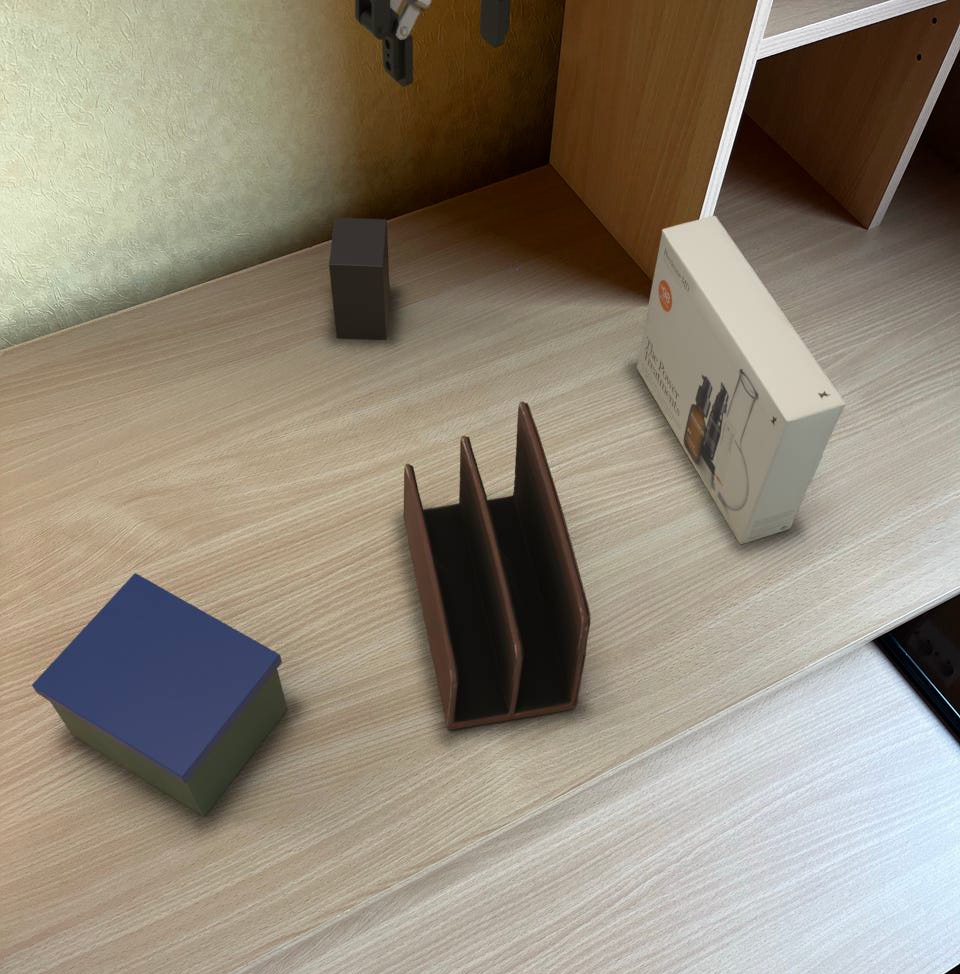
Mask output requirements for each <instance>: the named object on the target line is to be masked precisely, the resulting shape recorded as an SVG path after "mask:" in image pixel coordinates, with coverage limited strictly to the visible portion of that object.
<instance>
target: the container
mask: <svg viewBox="0 0 960 974" xmlns="http://www.w3.org/2000/svg"><path fill="white" fill-rule="evenodd" d="M282 664H283V661H282V658H281V653H278V652H276V651H274V650H273V649H271V648H269V647H267V646H265V645H264V644H262V643H260V642H258V641H256V640H255V639H254V638H251V637H250V636H248V635H246V634H244V633H242V632H241V631H239V630H237V629H235V628H234V627H232V626H230V625H229V624H227V623H224V622H223V621H221V620H219V619H218V618H216V617H214V616H212V615H211V614H209V613H207V612H205V611H203V610H202V609H200V608H198V607H196V606H195V605H194V604H193V605H192V604H191V603H189V602H187V601H186V600H185V599H182V598H180V597H179V596H177V595H175V594H173V593H172V592H170V591H168V590H167V589H165V588H163V587H161V586H159V585H158V584H155V583H154V582H152V581H150V580H148V579H147V578H146V577H143V576H142V575H140V574H138V573H136V572H135V573H133V575H132V576H130V578H129V579H128V580H127V581H125V583H124V584H123V585H122V586H121V588H119V589H118V591H117V592H116V593H115V594H114V595H113V596H112V597H111V598H110V599H109V600H108V602H107V603H105V605H103V607H102V608H101V609H100V610H99V611H98V613H97V614H96V615H95V616H94V617H93V618H92V619H91V620H90V621H89V622H88V623H87V624H86V625H85V627H84V628H83V629H82V630H81V631H80V632H79V633H78V634H77V635H76V636H75V637H74V638H73V640H72V641H70V643H69V644H68V645H67V646H66V647H65V648H64V649H63V650H62V651H61V653H60V654H59V655H58V656H57V657H56V658H55V659H54V660H53V661H52V662H51V663H50V664H49V666H48V667H46V668H45V670H44V671H43V672H42V673H41V674H40V675H39V677H37V679H35V680H34V682H33V683H32V684H31V686H32V688H33V690H34V691H35V693H36V694H37V695H38V696H40V697H42V698H44V699H46V700H47V701H49V702H50V704H51V705H52V707H53V708H54V710H55V711H56V712H57V714H58V716H59V717H60V719H61V720H62V722H63V723H64V725H65V726H66V728H67V729H68V731H69V732H70V733H71V736H73V737H74V738H75V739H77V740H79V741H80V742H82V743H83V744H85V745H86V746H89V747H90V748H91V749H93V750H94V751H96V752H98V753H100V754H101V755H103V756H104V757H106V758H108V759H109V760H111V761H112V762H114V763H116V764H117V765H119V766H121V767H122V768H124V769H125V770H127V771H129V772H131V773H132V774H134V775H135V776H137V777H139V778H140V779H142V780H144V781H145V782H147V783H148V784H150V785H151V786H152V787H155V789H158V790H160V791H161V792H163V793H165V795H168V796H169V797H171V798H172V799H174V800H176V801H177V802H179V803H181V804H182V805H184V806H185V807H187V808H189V809H190V810H192V811H194V812H195V813H197V814H198V815H199V816H202V817H206V816H207V815H208V813H209V812H210V810H211V809H212V808H213V807H214V805H215V804H216V803H217V801H218V800H219V799H220V797H222V795H223V793H224V792H225V791H226V790H227V788H228V787H229V786H230V785H231V784H232V782H233V781H234V779H235V778H236V777H237V775H238V774H239V773H240V771H241V770H242V769H243V767H245V765H246V764H247V762H248V761H249V760H250V759H251V757H252V756H253V755H254V754H255V752H256V751H257V750H258V749H259V747H260V746H261V744H262V743H263V741H265V740H266V738H267V737H268V735H269V734H270V733H271V731H272V730H273V729H274V728H275V726H276V725H277V724H278V722H279V721H280V720H281V719H282V717H283V716H284V714H286V712H287V711H288V706H287V702H286V698H285V694H284V691H283V690H284V689H283V686H282V682H281V678H280V674H279V671H278V669H279V668H280V666H281V665H282Z"/></svg>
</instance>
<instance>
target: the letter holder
mask: <svg viewBox="0 0 960 974" xmlns="http://www.w3.org/2000/svg"><path fill="white" fill-rule="evenodd" d="M534 419H535V418H534V417H533V413H532V410H531V407H530V405H529V403H528V402H525V401H520V402H519V403H518V408H517V423H516V445H515V459H514V460H515V463H514V464H515V465H514V479H513V492H512V495H508V496H503V497H498V498H492V499H488V496H487V493H486V490H485V486H484V482H483V480H482V476H481V473H480V469H479V466H478V462H477V459H476V456H475V453H474V449H473V446H472V443H471V439H470V436H466V435H462V436H461V437H460V439H459V440H460V441H459V445H460V447H459V485H458V486H459V487H458V488H459V492H458V503H453V504H447V505H442V506H436V507H428V508H424V507H423V502H422V499H421V495H420V492H419V487H418V482H417V477H416V473H415V469H414V466H413V465H412V464H410V463H405V465H404V468H403V512H402V513H403V514H402V516H403V522H404V527H405V531H406V536H407V540H408V546H409V550H410V556H411V560H412V565H413V570H414V575H415V580H416V585H417V590H418V595H419V599H420V604H421V609H422V615H423V620H424V624H425V630H426V633H427V638H428V644H429V648H430V653H431V658H432V662H433V666H434V672H435V677H436V682H437V686H438V690H439V695H440V696H439V697H440V701H441V705H442V711H443V715H444V723H445V725H446V727H447V729H448V731H452V730H456V729H463V728H468V727H475V726H481V725H486V724H493V723H499V722H506V721H510V720H516V719H522V718H528V717H534V716H541V715H547V714H552V713H558V712H563V711H568V710H569V711H570V710H572V709H574V708H576V707H577V705H578V702H579V695H580V689H581V683H582V677H583V672H584V669H585V664H586V656H587V646H588V639H589V635H590V627H591V611H590V606H589V602H588V599H587V595H586V592H585V588H584V584H583V579H582V576H581V573H580V570H579V565H578V562H577V557H576V554H575V551H574V548H573V543H572V540H571V536H570V533H569V530H568V529H569V528H568V526H567V521H566V518H565V515H564V511H563V507H562V504H561V501H560V498H559V494H558V491H557V488H556V485H555V482H554V478H553V475H552V471H551V468H550V465H549V462H548V459H547V456H546V452H545V450H544V446H543V442H542V439H541V435H540V433H539V430H538V428H537V424H536V422H535V420H534Z"/></svg>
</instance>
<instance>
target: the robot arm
mask: <svg viewBox="0 0 960 974" xmlns="http://www.w3.org/2000/svg"><path fill="white" fill-rule="evenodd" d="M403 2H404V0H354V16H355V17H354V18H355V21H356V22H357V23H359V24H360V25H361V26H363V27H364V28H365V29H366V30H368V32H369V33H371V34H372V36H374V37H375V38H376V39H377V40H380V41H381V45H382V46H381V47H382V67H383V69H384V72H385V73H386V74H388V75H389V76H390V77H391V78H392V79H393V80H394V81H395V82H396V83H398V84H399V86H401V87H403V88H405V87H407V86H410V85H411V84H413V82H414V37H413V35H411V32H412V30H413V28H414V26H415V24H416V22H417V20H418V18H419V16H420V14H421V12H422V11H426V10H428V9H429V8H430V5H431V4H432V2H433V0H405V2H404V4H403V6H402V8H401V11H400V13H398V12H399V9H400V7H401V5H402V3H403ZM511 6H512V0H480V13H479V16H480V17H479V35H480V37H481V38H482V39H483V41H485V42H486V43H487V44H489V45H490V46H491V47H492V48H494V49H496V48H498V47H499V48H500V47H501V46H504V44H505V40H506V36H507V35H508V32H509V29H510V19H511V15H510V14H511V9H512V8H511Z"/></svg>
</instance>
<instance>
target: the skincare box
mask: <svg viewBox="0 0 960 974" xmlns="http://www.w3.org/2000/svg"><path fill="white" fill-rule="evenodd" d="M660 237H661V238H660V243H659V247H658V253H657V257H656V264H655V268H654V273H653V278H652V279H653V280H652V284H651V289H650V295H649V299H648V300H649V301H648V306H647V311H646V315H645V316H646V317H645V322H644V327H643V331H642V337H641V343H640V347H639V351H638V352H639V354H638V358H637V363H636V369H637V371H638V373H639V375H640V376H641V378H642V380H643V382H644V383H645V385H646V386H647V388H648V391H649V392H650V394H651V395H652V397H653V399H654V400H655V402H656V403H657V405H658V407H659V409H660V410H661V412H662V414H663V416H664V417H665V419H666V421H667V422H668V424H669V426H670V428H671V430H672V431H673V433H674V435H675V436H676V439H677V440H678V442H679V443H680V445H681V447H682V448H683V450H684V452H685V454H686V456H687V457H688V459H689V460H690V462H691V464H692V466H693V467H694V469H695V471H696V472H697V474H698V475H699V477H700V479H701V481H702V483H703V484H704V486H705V487H706V490H707V491H708V493H709V494H710V496H711V498H712V499H713V501H714V503H715V505H716V506H717V508H718V510H719V512H720V513H721V515H722V516H723V519H724V520H725V522H726V523H727V525H728V527H729V528H730V530H731V532H732V534H733V535H734V537H735V539H736V540H737V542H738V544H739V545H744V544H747V543H751V542H753V541H757V540H759V539H763V538H766V537H769V536H773V535H775V534H779V533H781V532H784V531H788V530H790V529H791V528H792V527H793V524H794V521H795V519H796V516H797V514H798V512H799V509H800V507H801V504H802V502H803V500H804V497H805V495H806V492H807V490H808V488H809V487H810V485H811V484H812V481H813V480H814V477H815V475H816V472H817V470H818V467H819V465H820V464H821V461H822V458H823V454H824V452H825V450H826V447H827V446H828V443H829V442H830V439H831V436H832V434H833V432H834V430H835V428H836V425H837V423H838V421H839V419H840V417H841V414H842V413H843V411H844V409H845V407H846V402H845V400H844V398H843V397H842V395H841V394H840V393H839V391H838V390H837V389H836V387H835V386H834V384H833V382H832V381H831V380H830V378H829V377H828V375H827V374H826V372H825V371H824V370H823V368H822V367H821V365H820V364H819V362H818V361H817V360H816V358H815V356H814V355H813V354H812V352H811V351H810V349H809V348H808V346H807V345H806V343H805V342H804V341H803V340H802V338H801V336H800V335H799V333H798V331H796V330H795V327H793V325H792V324H791V322H790V320H788V318H787V316H786V315H785V314H784V312H783V311H782V309H781V308H780V306H779V304H778V303H777V302H776V300H775V299H774V297H773V296H772V294H771V293H770V292H769V291H768V289H767V287H766V286H765V285H764V283H763V282H762V280H761V278H760V277H759V276H758V275H757V273H756V271H755V270H754V269H753V267H752V266H751V264H750V262H749V261H748V260H747V259H746V257H745V256H744V254H743V252H742V251H741V250H740V248H739V247H738V246H737V244H736V243H735V242H734V240H733V239H732V237H731V235H730V234H729V233H728V232H727V230H726V228H725V227H724V226H723V224H722V223H721V221H720V220H719V218H718V217H717V216H716V215H711V216H707V217H703V218H699V219H696V220H692V221H688V222H683V223H680V224H676V225H672V226H669V227H666V228H662V230H661V236H660Z"/></svg>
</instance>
